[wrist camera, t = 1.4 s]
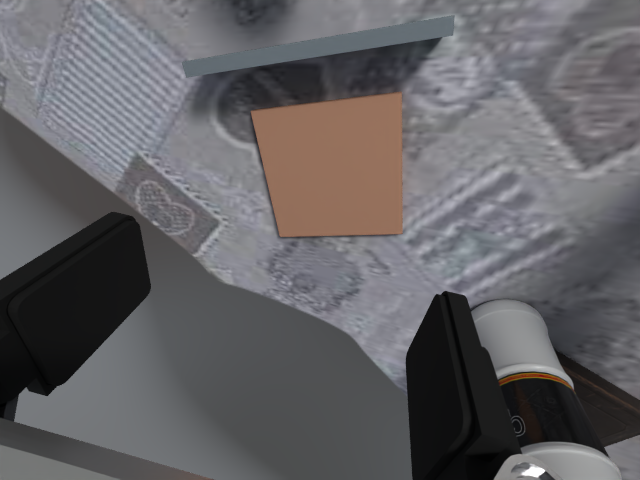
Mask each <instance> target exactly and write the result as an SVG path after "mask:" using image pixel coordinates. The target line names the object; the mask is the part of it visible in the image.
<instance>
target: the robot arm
mask: <svg viewBox="0 0 640 480" xmlns="http://www.w3.org/2000/svg"><path fill="white" fill-rule="evenodd" d="M150 289H151V284H150V278H149V273H148V267H147V263H146V257H145V251H144V246H143V241H142V235H141V230H140V226H139V224H138V223H137V222H136V220H135V219H134V218H133V217H132V216H129V215H125V214H121V213H117V212H111V213H108V214H107V215H105V216H104V217H102V218H100V219H99V220H97V221H96V222H94V223H92V224H91V225H89V226H87V227H86V228H84V229H82V230H81V231H79V232H78V233H76V234H74V235H73V236H71V237H69V238H68V239H66V240H64V241H63V242H61V243H60V244H58V245H56V246H55V247H53V248H51V249H50V250H48V251H47V252H45V253H43V254H42V255H40V256H38V257H37V258H35V259H34V260H32V261H30V262H29V263H27V264H25V265H24V266H22V267H20V268H19V269H17V270H16V271H14V272H13V273H11V274H9V275H8V276H6V277H4V278H3V279H1V280H0V480H214V479H210V478H206V477H203V476H200V475H196V474H193V473H190V472H186V471H183V470H179V469H176V468H172V467H169V466H165V465H162V464H158V463H155V462H152V461H148V460H145V459H142V458H138V457H135V456H131V455H128V454H124V453H121V452H117V451H114V450H110V449H107V448H104V447H100V446H97V445H93V444H90V443H86V442H83V441H79V440H76V439H72V438H69V437H65V436H62V435H58V434H55V433H51V432H48V431H44V430H41V429H37V428H34V427H30V426H27V425H23V424H20V423H16V422H14V419H15V413H16V407H17V402H18V396H19V393H21V392H22V391H23V390H24V388H26V387H27V389H28V390H29V391H31V392H34V393H38V394H41V395H45V396H48V395H49V394H50V393H51V392H52V391H53V390H54V389H55V388H56V387H57V386H59V385H62V384H64V383H65V382H66V381H67V380H68V379H69V378H70V377H71V376H72V375H73V374H74V373H75V372H76V371H77V370H78V369H79V368H80V367H81V365H82V364H83V363H84V362H85V361H86V360H87V359H88V358H89V357H90V356H91V355H92V354H93V353H94V352H95V351H96V350H97V349H98V348H99V347H100V346H101V345H102V343H103V342H104V341H105V340H106V339H107V338H108V337H109V336H110V335H111V334H112V333H113V332H114V331H115V330H116V329H117V328H118V326H119V325H120V324H121V323H122V322H123V321H124V320H125V319H126V318H127V317H128V316H129V315H130V314H131V313H132V312H133V311H134V310H135V309H136V307H137V306H138V305H139V304H140V303H141V302H142V301H143V300H144V299H145V298H146V297H147V296H148V294H149V292H150ZM406 375H407V392H408V410H409V427H410V442H411V443H410V444H411V461H412V477H413V480H563V479H562V478H561V477H560V476H559V475H558V474H557V473H556V472H555V471H554V470H553V469H551V468H550V467H549V466H547V465H546V464H545V463H543V462H542V461H540V460H538V459H536V458H534V457H532V456H529V455H523V454H522V451H521V448H520V445H519V442H518V439H517V436H516V433H515V430H514V427H513V424H512V421H511V418H510V415H509V412H508V409H507V406H506V403H505V400H504V396H503V393H502V390H501V387H500V384H499V381H498V378H497V375H496V372H495V369H494V366H493V363H492V360H491V357H490V354H489V352H488V350H487V349H486V348H485V347H482V346H481V343H480V340H479V336H478V333H477V330H476V327H475V323H474V320H473V317H472V314H471V311H470V307H469V304H468V301H467V298H466V297H465V296H464V295H460V294H456V293H452V292H447V291H444V292H443V293H442V294H441V295H439V294H436V295H435V297H434V298H433V300H432V302H431V305H430V307H429V309H428V311H427V313H426V315H425V317H424V319H423V321H422V323H421V325H420V327H419V329H418V331H417V333H416V335H415V337H414V339H413V341H412V343H411V345H410V347H409V349H408V352H407V355H406Z"/></svg>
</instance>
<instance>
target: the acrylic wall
mask: <svg viewBox="0 0 640 480" xmlns="http://www.w3.org/2000/svg"><path fill="white" fill-rule="evenodd" d="M453 31H454V15H453V16H447V17H441V18H436V19H430V20H424V21H418V22H412V23H406V24H401V25H395V26H389V27H383V28H377V29H371V30H366V31H360V32H354V33H348V34H342V35H336V36H331V37H325V38H319V39H313V40H307V41H301V42H296V43H290V44H284V45H278V46H272V47H266V48H261V49H255V50H249V51H243V52H237V53H232V54H226V55H220V56H214V57H208V58H202V59H197V60H191V61H185V62H182V65H183V68H184V71H185V75H186V78H187V77H193V76H199V75H206V74H212V73H218V72H225V71H231V70H237V69H244V68H250V67H256V66H263V65H269V64H275V63H282V62H288V61H294V60H301V59H307V58H313V57H320V56H326V55H332V54H339V53H345V52H351V51H358V50H364V49H370V48H377V47H383V46H389V45H396V44H402V43H408V42H415V41H421V40H427V39H434V38H440V37H446V36H452V35H453Z"/></svg>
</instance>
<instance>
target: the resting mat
mask: <svg viewBox="0 0 640 480" xmlns="http://www.w3.org/2000/svg"><path fill="white" fill-rule="evenodd" d="M251 115H252V119H253V124H254V128H255V132H256V136H257V141H258V145H259V149H260V153H261V158H262V162H263V166H264V170H265V175H266V179H267V183H268V188H269V192H270V196H271V200H272V205H273V209H274V213H275V217H276V222H277V226H278V230H279V234H280V237H295V236H337V235H379V234H402V92H393V93H385V94H377V95H369V96H361V97H353V98H344V99H336V100H328V101H320V102H312V103H304V104H296V105H288V106H280V107H272V108H264V109H256V110H253V111H251Z"/></svg>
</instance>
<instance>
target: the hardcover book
mask: <svg viewBox="0 0 640 480" xmlns="http://www.w3.org/2000/svg"><path fill="white" fill-rule="evenodd" d="M554 351H555V353H556V356H557V358H558V360H559V363H560V365H561V366H562V368H563V370H564V371H565V373H566V374H567V375H568V376H569V377H570V379H571V380H572V382H573V386H574V391H575V393H576V395H577V397H578V399H579V401H580V403H581V405H582V407H583V408H584V410H585V412H586V414H587V416H588V418H589V420H590V422H591V424H592V425H593V427H594V429H595V431H596V433H597V435H598V437H599V439H600V441H601V443H602V444H603V446H604V447H606V446H608V445H611V444H614V443H617V442H620V441H623V440H626V439H629V438H632V437H634V436H637V435H640V400H638V399H637V398H635V397H633V396H632V395H630V394H628V393H627V392H625V391H623V390H622V389H620V388H618V387H617V386H615V385H613V384H612V383H610V382H608V381H606V380H605V379H603V378H601V377H600V376H598V375H596V374H595V373H593V372H591V371H590V370H588V369H586V368H585V367H583V366H581V365H580V364H578V363H576V362H575V361H573V360H571V359H570V358H568V357H566V356H565V355H563V354H561V353H560V352H558V351H556V350H555V349H554Z"/></svg>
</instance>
